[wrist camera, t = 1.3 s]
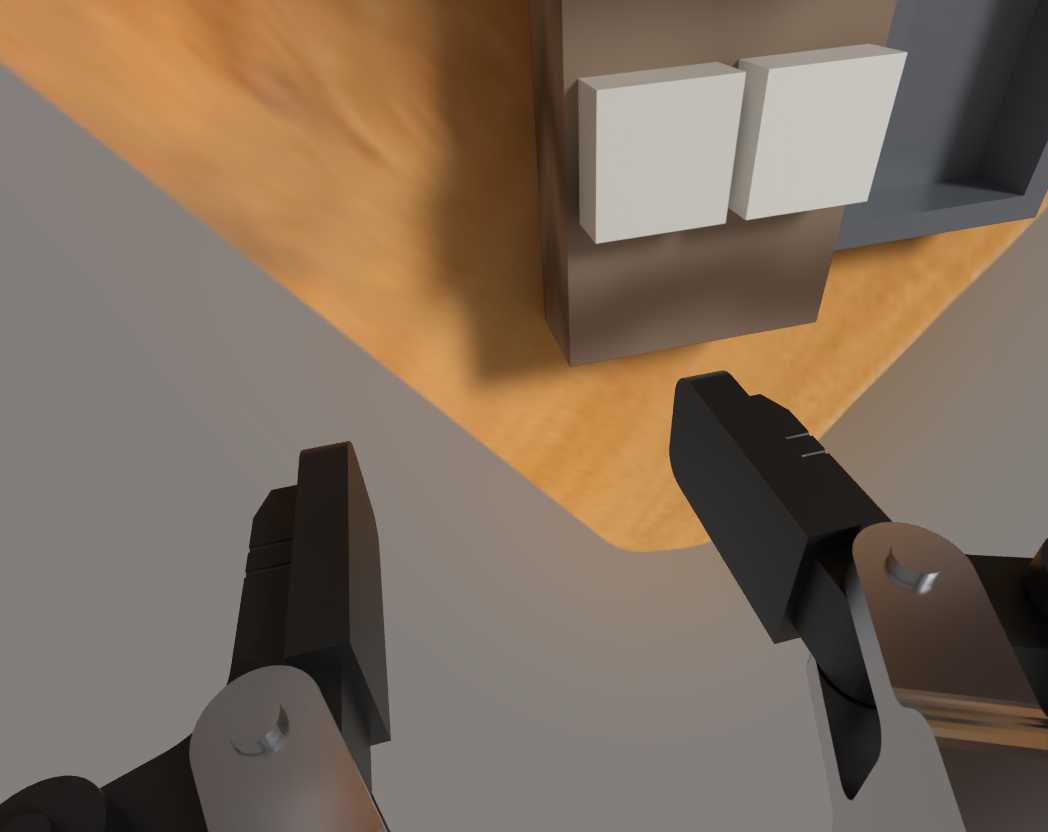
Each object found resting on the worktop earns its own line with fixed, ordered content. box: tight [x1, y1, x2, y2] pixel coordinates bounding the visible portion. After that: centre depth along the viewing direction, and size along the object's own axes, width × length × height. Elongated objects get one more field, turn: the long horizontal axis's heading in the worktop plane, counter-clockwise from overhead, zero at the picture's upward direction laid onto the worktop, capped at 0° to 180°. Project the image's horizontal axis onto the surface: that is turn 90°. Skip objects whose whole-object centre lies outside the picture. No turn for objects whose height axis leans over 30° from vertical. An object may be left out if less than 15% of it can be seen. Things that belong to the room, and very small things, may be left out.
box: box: [834, 0, 1048, 251], centre depth 27 cm, size 14×11×4 cm
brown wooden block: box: [529, 0, 897, 367], centre depth 25 cm, size 18×12×4 cm, turn 4°
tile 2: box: [728, 44, 908, 220], centre depth 23 cm, size 5×5×2 cm
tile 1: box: [578, 62, 746, 244], centre depth 22 cm, size 5×5×2 cm
